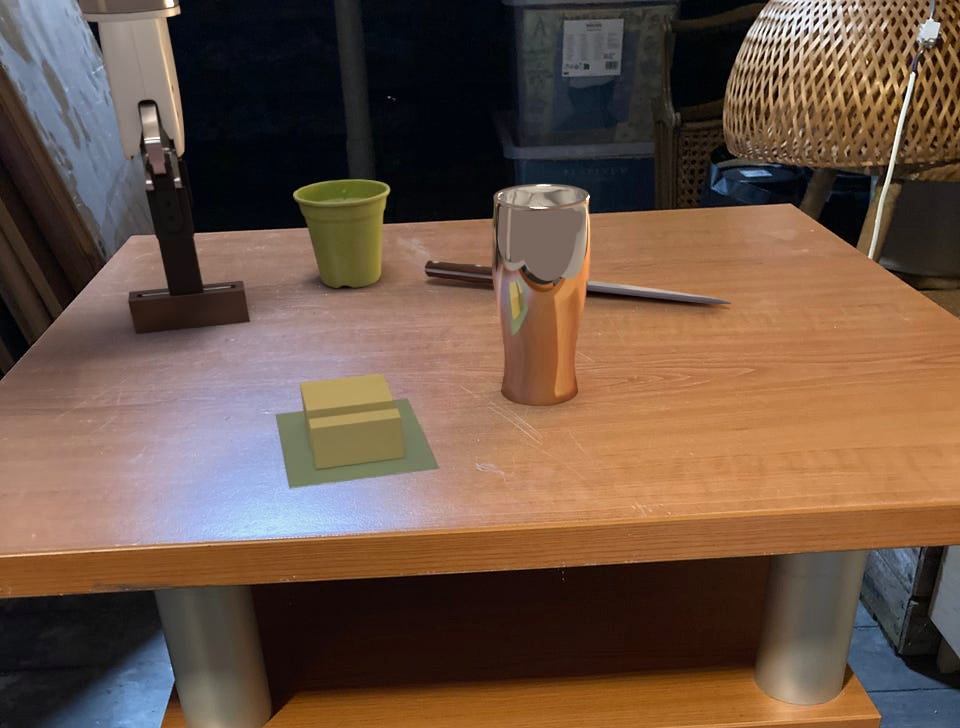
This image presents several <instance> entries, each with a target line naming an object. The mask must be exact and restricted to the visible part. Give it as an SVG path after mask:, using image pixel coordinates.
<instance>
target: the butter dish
mask: <svg viewBox="0 0 960 728" xmlns="http://www.w3.org/2000/svg"><path fill="white" fill-rule="evenodd" d="M394 407H395V408H397V409H398V411H399V413H400V416H401V422H402V434H403V447H404V458H398V459H391V460H383V461H376V462H368V463H360V464H353V465H345V466H338V467H330V468H323V469H316V465H315V461H314V455H313V451H312V449H311V444H310V440H309V436H308V432H307V427H306V423H305V417H304V410H299V411H291V412H282V413H275V418H276V424H277V429H278V435H279V439H280V440H279V442H280V447H281V451H282V456H283V463H284V468H285V474H286V479H287V484H288V489H290V490H291V489H298V488H305V487H312V486H321V485H328V484H336V483H342V482H349V481H350V482H351V481H357V480H365V479H373V478H378V477H387V476H388V477H389V476H395V475H403V474H409V473H417V472H423V471H430V470H439V469H440V466H439V463H438V462H437V459H436V457H435V455H434V453H433V451H432V449H431V447H430V444H429V443H428V440H427V438H426V436H425V433H424V431H423V429H422V426H421V424H420V422H419V420H418V418H417V415H416V413H415V411H414V409H413V407H412V405H411V402H410V400H409V397H406V398H397V399H394Z"/></svg>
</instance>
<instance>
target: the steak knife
mask: <svg viewBox="0 0 960 728" xmlns="http://www.w3.org/2000/svg"><path fill="white" fill-rule="evenodd" d="M424 272H425V273H424V274H425V275H426V276H427V277H429V278H437V279H446V280H455V281H461V282H467V283H474V284H491V285H493V278H492V266H485V265H481V264H476V263H455V262H445V261H438V260H428V261H427V262H426V264H425V265H424ZM587 291H590V292H599V293H609V294H617V295H618V294H619V295H625V296H634V297H636V296H637V297H643V298H654V299H661V300H662V299H664V300H671V301H672V300H673V301H680V302H681V301H682V302H690V303H698V304H706V305H707V304H708V305H732V302H731V301H728V300H724V299H720V298H715V297H711V296H706V295H698V294H692V293H687V292H679V291H673V290H667V289H660V288H652V287H646V286H638V285H631V284H621V283H615V282H606V281H599V280H597V281H596V280H589V279H588V285H587Z"/></svg>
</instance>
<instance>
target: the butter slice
mask: <svg viewBox="0 0 960 728" xmlns="http://www.w3.org/2000/svg"><path fill="white" fill-rule="evenodd" d="M309 427H310V434H311V441H312V448H313V455H314V461H315V465H316V469H323V468H330V467H338V466H345V465H353V464H360V463H368V462H376V461H383V460H391V459H398V458H404V447H403V434H402V422H401V416H400V413H399V411H398V409H397V408H395V409H387V410H379V411H371V412H363V413H355V414H347V415H339V416H331V417H322V418H314V419H309Z"/></svg>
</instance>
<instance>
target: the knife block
mask: <svg viewBox="0 0 960 728" xmlns="http://www.w3.org/2000/svg"><path fill="white" fill-rule="evenodd" d="M222 286H231V288H229V289H219V290H209V291H203V292H198V293H188V294H178V295H170V294H169V295H159V296H149V297H142V294H152V293H162V292H169V289H168V287H166V288H165V287H164V288H155V289H145V290H135V291H129V292H128V300H127V304H128V307H129V312H130V316H131V319H132V324H133V328H134V332H135V334H144V333H153V332H163V331H172V330H183V329H191V328H201V327H211V326H219V325H221V326H222V325H229V324H239V323H249V322H250V321H251V320H250V314H249V308H248V302H247V296H246V291H245V284H244V281H243V280H236V281H235V280H234V281H226V282H216V283H205V284H204V283H203V288H212V287H222Z"/></svg>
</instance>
